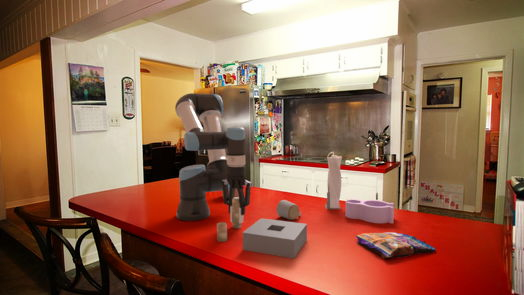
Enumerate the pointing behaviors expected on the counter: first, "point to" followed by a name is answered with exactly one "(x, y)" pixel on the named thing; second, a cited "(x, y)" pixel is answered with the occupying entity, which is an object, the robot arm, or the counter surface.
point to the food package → (393, 244)
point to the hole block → (275, 237)
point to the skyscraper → (334, 182)
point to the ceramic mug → (288, 210)
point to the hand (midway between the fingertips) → (236, 221)
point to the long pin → (235, 212)
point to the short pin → (221, 231)
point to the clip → (370, 210)
